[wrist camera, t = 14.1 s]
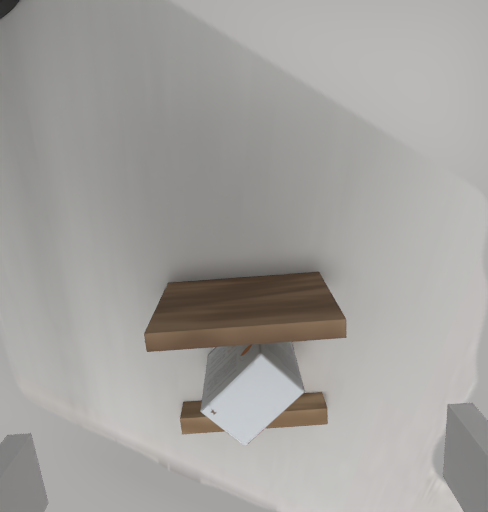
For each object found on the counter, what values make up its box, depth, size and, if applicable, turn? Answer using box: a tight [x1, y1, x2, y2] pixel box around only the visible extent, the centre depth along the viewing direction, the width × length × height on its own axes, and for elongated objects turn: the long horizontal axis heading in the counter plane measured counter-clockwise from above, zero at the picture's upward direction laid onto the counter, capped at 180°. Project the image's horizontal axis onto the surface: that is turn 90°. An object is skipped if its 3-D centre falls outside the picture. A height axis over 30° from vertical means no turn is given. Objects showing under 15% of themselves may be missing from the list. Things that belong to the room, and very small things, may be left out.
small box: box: [200, 342, 305, 446], centre depth 43 cm, size 8×6×10 cm
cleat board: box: [144, 272, 346, 434], centre depth 42 cm, size 17×16×12 cm
